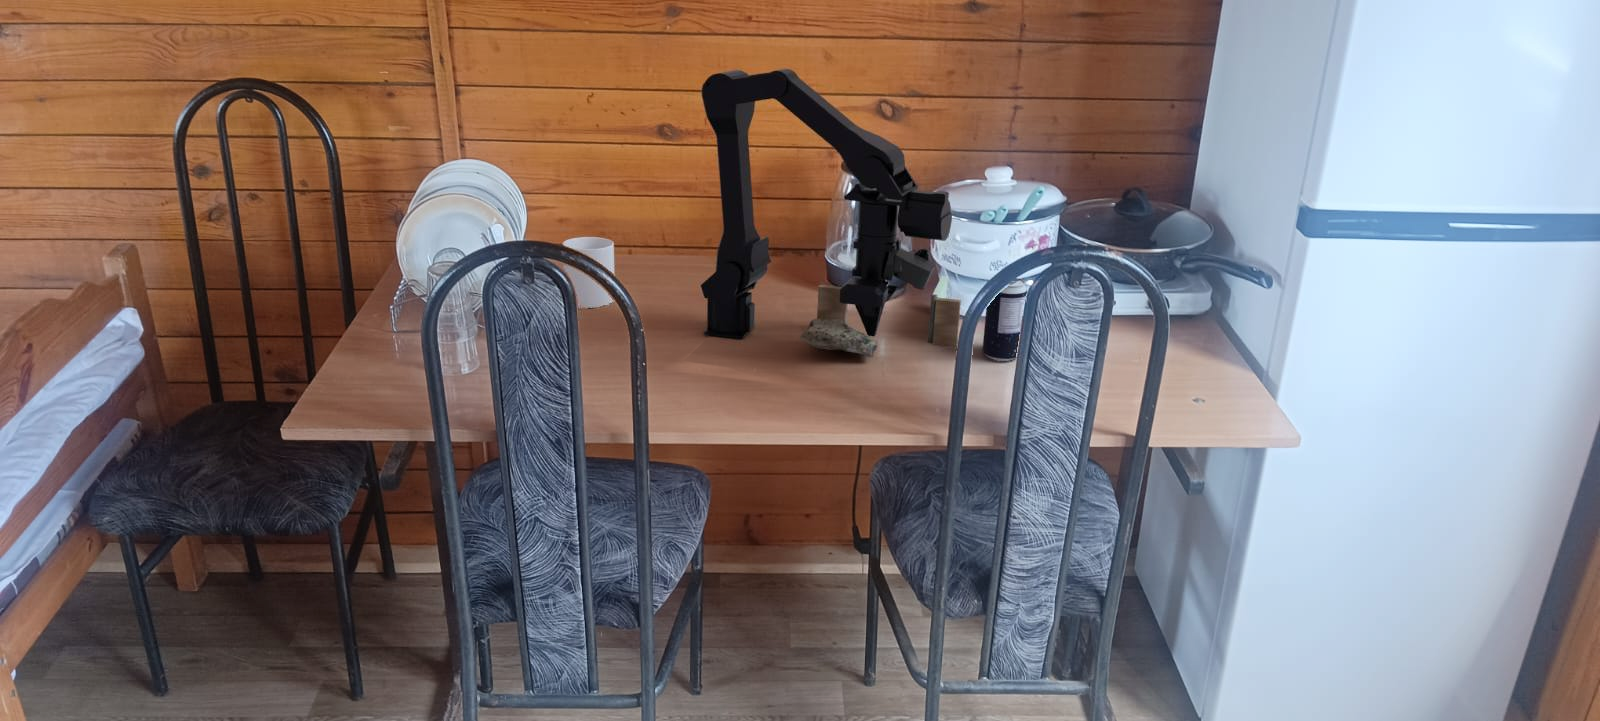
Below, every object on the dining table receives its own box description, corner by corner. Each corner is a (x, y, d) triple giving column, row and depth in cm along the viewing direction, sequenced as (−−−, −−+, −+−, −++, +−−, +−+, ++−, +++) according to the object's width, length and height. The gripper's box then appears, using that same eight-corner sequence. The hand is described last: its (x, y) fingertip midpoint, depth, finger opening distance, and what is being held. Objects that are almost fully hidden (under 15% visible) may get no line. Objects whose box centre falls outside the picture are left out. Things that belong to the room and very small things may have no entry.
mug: (580, 288, 199) (579, 230, 196) (627, 292, 198) (626, 233, 195) (557, 308, 188) (555, 247, 184) (606, 312, 187) (605, 251, 183)
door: (938, 316, 189) (941, 275, 187) (944, 317, 189) (948, 276, 187) (928, 339, 178) (931, 296, 176) (934, 340, 178) (938, 297, 176)
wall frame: (816, 332, 181) (818, 283, 178) (818, 330, 182) (820, 281, 179) (955, 349, 176) (960, 299, 173) (956, 346, 177) (961, 297, 174)
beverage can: (1022, 354, 175) (1030, 278, 171) (1016, 366, 170) (1024, 288, 166) (985, 349, 176) (992, 273, 172) (978, 360, 171) (985, 283, 167)
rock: (868, 360, 164) (872, 331, 164) (794, 348, 167) (798, 318, 166) (881, 353, 175) (886, 325, 174) (811, 341, 177) (815, 314, 177)
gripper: (921, 252, 155) (914, 361, 160) (942, 224, 172) (935, 323, 177) (840, 245, 158) (836, 352, 163) (869, 217, 175) (865, 315, 180)
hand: (871, 335), depth 171 cm, fingers closed
